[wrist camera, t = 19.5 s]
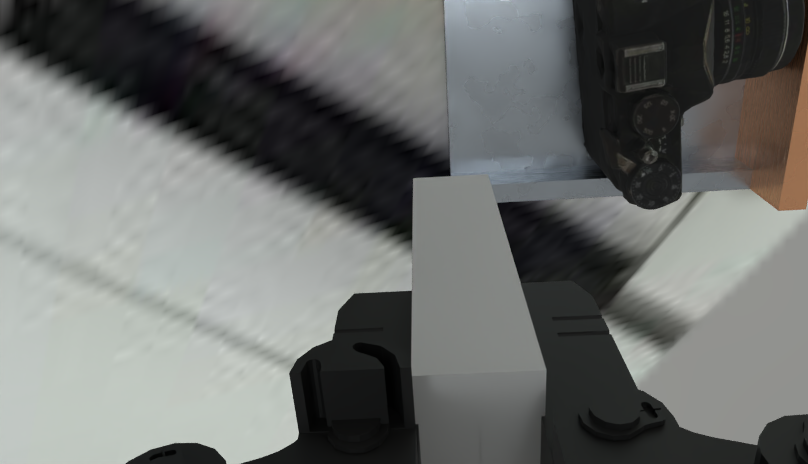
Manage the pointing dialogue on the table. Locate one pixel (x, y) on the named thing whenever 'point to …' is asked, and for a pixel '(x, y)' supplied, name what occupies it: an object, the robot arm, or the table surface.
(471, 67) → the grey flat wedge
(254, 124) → the table surface
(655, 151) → the camera
